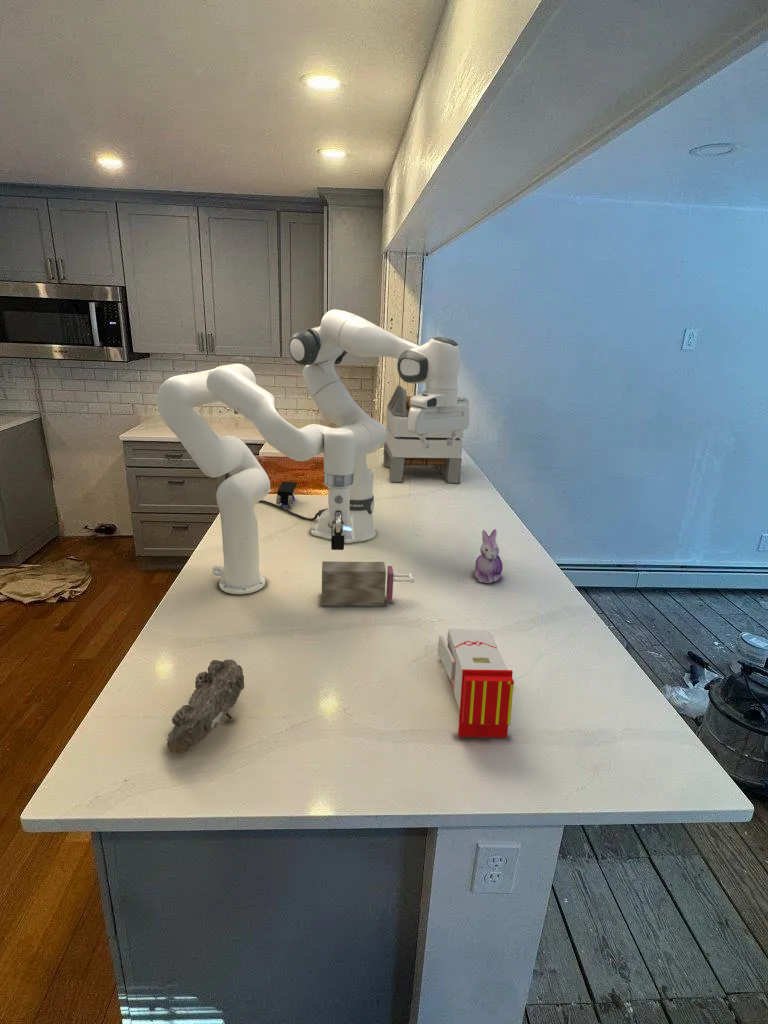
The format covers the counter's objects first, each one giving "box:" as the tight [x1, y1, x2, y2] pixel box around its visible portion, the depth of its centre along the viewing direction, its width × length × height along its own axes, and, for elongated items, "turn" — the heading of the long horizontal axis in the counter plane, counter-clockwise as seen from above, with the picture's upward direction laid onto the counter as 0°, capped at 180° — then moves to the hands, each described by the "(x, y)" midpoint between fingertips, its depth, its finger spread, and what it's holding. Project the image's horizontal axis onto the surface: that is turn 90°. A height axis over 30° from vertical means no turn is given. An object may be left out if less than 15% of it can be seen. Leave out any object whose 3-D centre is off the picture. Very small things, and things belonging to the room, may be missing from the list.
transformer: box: [383, 384, 465, 484], centre depth 268 cm, size 34×33×41 cm
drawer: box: [385, 565, 415, 602], centre depth 152 cm, size 21×5×8 cm, turn 95°
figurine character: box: [275, 480, 298, 509], centre depth 223 cm, size 7×8×15 cm
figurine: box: [474, 528, 503, 584], centre depth 167 cm, size 9×10×15 cm
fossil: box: [166, 658, 245, 754], centre depth 106 cm, size 22×10×15 cm
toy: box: [437, 628, 515, 738], centre depth 117 cm, size 12×13×30 cm
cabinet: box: [321, 560, 387, 607], centre depth 152 cm, size 17×6×10 cm, turn 95°
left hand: (337, 541), depth 147 cm, fingers open, 9 cm apart
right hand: (437, 446), depth 163 cm, fingers open, 8 cm apart
